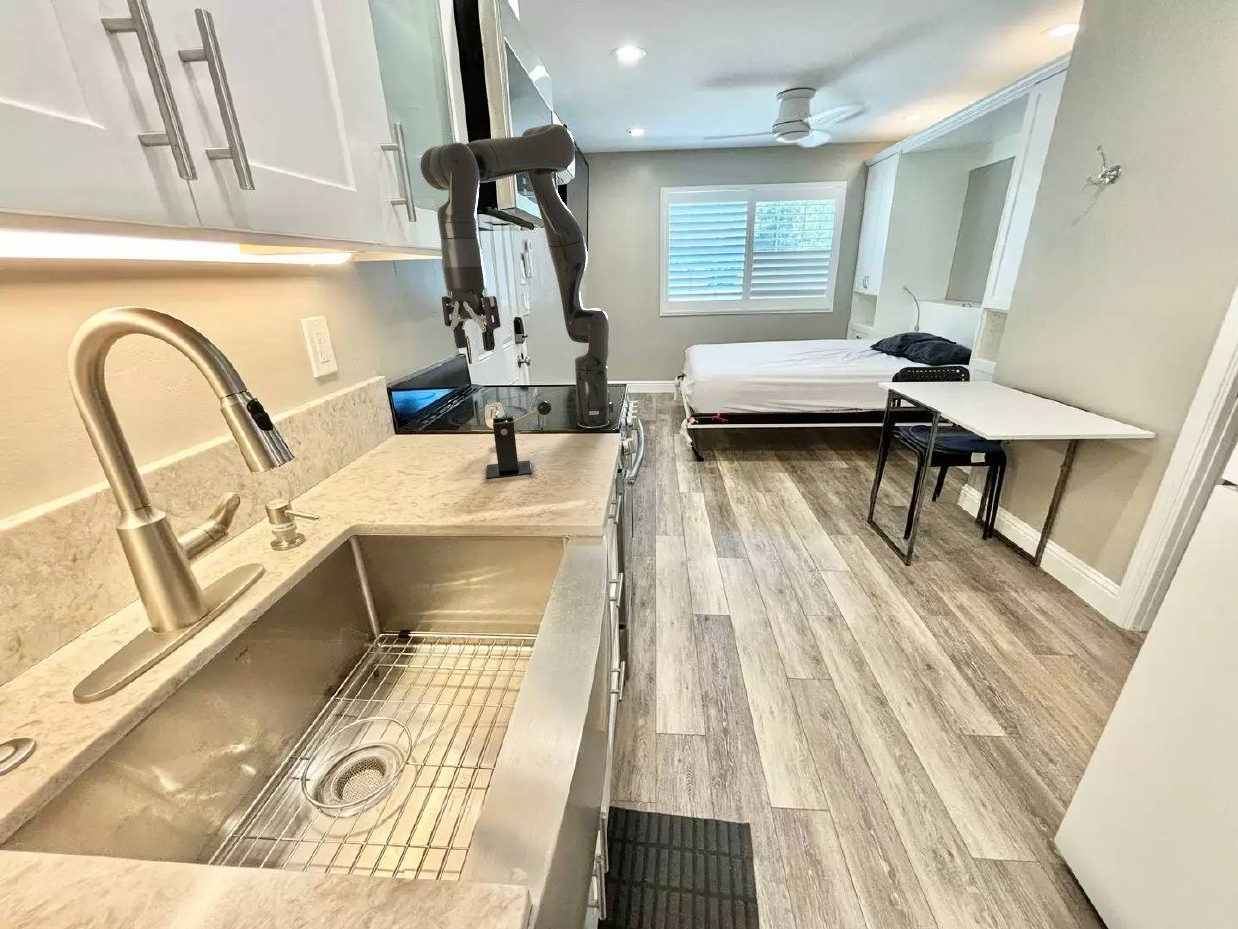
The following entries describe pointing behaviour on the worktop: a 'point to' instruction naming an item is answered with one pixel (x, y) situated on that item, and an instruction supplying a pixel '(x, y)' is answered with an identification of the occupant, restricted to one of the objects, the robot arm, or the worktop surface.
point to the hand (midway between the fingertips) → (475, 349)
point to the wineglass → (494, 412)
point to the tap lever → (534, 412)
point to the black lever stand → (506, 452)
